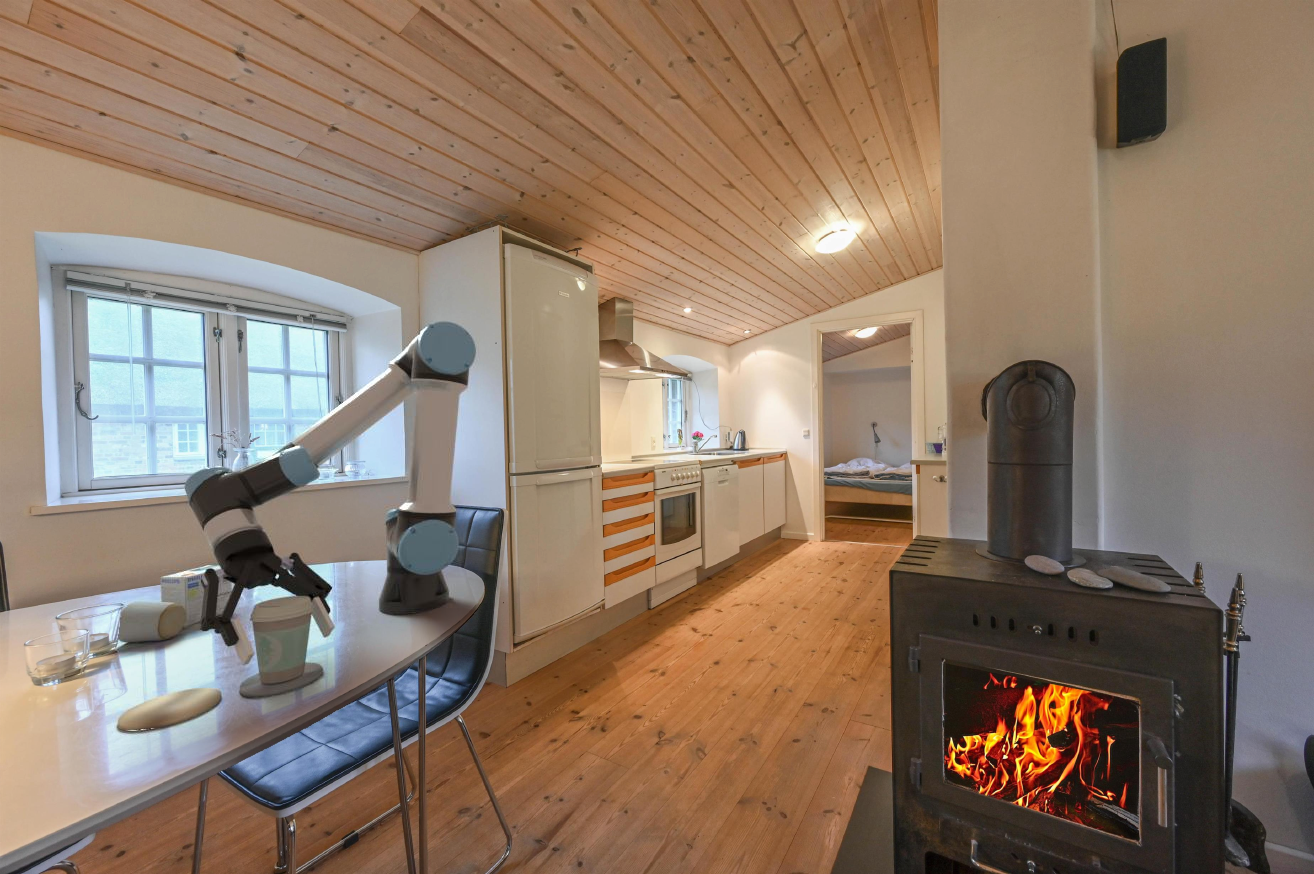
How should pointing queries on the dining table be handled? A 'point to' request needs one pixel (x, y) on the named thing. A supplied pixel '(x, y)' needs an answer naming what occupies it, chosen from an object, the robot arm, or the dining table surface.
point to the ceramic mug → (151, 621)
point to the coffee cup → (281, 637)
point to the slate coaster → (259, 689)
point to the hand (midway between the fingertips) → (291, 645)
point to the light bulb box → (193, 592)
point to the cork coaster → (169, 709)
